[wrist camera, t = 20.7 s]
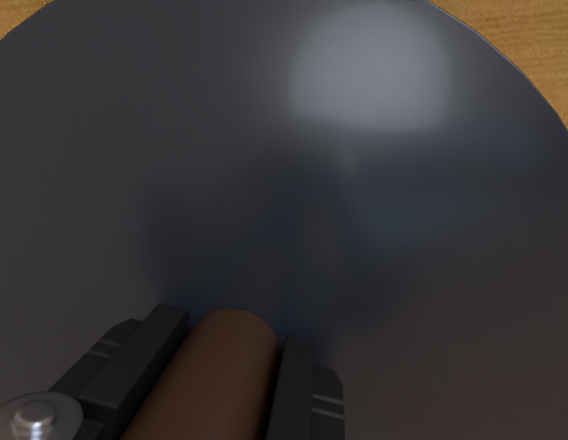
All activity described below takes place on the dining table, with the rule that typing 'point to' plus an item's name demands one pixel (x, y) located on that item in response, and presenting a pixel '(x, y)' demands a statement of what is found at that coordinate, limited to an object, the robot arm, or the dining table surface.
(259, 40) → the lid
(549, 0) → the dining table surface
